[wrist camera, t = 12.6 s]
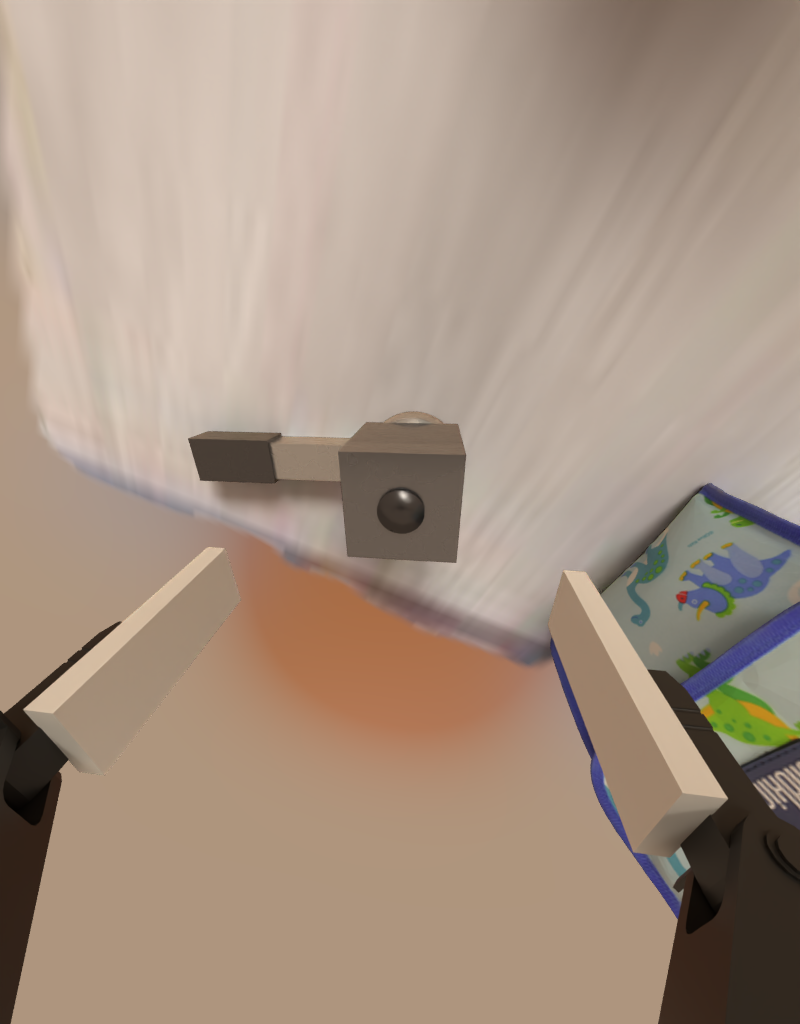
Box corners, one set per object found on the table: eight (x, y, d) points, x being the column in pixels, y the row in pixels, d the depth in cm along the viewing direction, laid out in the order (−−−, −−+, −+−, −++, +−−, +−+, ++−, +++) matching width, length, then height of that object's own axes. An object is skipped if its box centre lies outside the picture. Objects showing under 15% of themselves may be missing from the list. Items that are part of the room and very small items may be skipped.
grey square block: (366, 422, 25) (336, 453, 18) (457, 423, 24) (466, 456, 17) (370, 504, 28) (346, 559, 21) (451, 507, 28) (456, 565, 20)
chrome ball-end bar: (201, 407, 29) (131, 425, 22) (462, 412, 27) (470, 433, 20) (223, 490, 33) (168, 526, 26) (454, 500, 30) (459, 542, 24)
